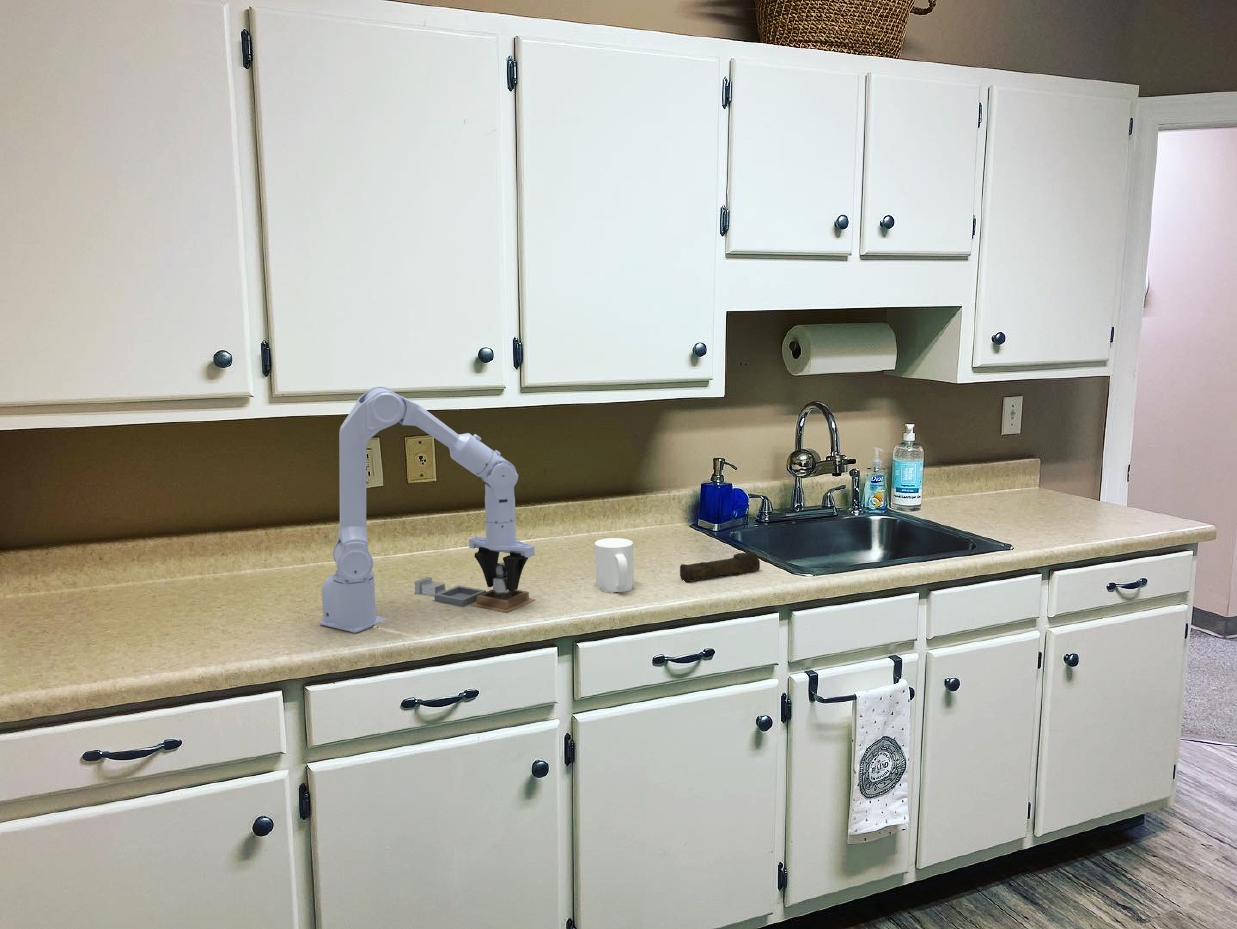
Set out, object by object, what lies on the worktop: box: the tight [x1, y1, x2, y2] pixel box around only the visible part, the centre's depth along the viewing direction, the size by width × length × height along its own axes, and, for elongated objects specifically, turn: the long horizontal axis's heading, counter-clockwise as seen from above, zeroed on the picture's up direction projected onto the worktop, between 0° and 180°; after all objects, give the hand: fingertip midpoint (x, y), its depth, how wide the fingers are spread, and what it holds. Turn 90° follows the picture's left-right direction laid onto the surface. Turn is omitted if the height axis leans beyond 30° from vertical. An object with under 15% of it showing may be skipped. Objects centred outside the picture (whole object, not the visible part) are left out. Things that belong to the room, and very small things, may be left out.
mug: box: [594, 537, 635, 593], centre depth 197 cm, size 12×9×8 cm
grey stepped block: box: [414, 576, 446, 598], centre depth 193 cm, size 5×4×3 cm
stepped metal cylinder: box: [492, 562, 512, 600], centre depth 186 cm, size 4×4×8 cm
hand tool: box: [679, 551, 761, 583], centre depth 205 cm, size 19×4×5 cm, turn 112°
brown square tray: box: [469, 588, 536, 614], centre depth 187 cm, size 9×9×2 cm
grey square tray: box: [432, 584, 487, 608], centre depth 190 cm, size 8×8×2 cm
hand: (502, 588), depth 186 cm, fingers open, 5 cm apart
